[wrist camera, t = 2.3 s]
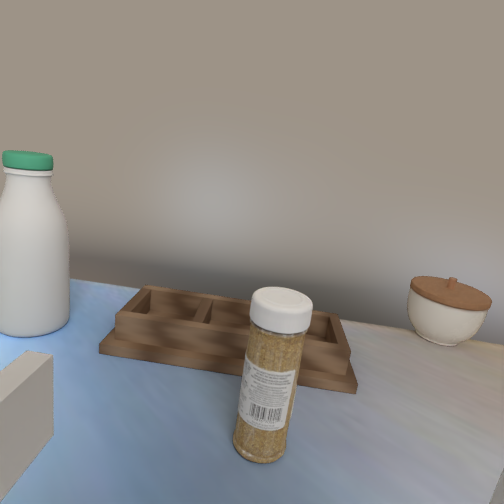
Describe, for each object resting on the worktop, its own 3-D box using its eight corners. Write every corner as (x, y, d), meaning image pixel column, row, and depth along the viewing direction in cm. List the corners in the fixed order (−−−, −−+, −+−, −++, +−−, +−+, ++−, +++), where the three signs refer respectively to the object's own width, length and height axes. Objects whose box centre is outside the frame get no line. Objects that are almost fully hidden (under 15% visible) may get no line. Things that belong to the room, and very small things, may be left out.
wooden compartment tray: (337, 338, 51) (343, 311, 49) (355, 394, 39) (364, 359, 38) (139, 308, 51) (140, 280, 50) (99, 353, 40) (100, 318, 39)
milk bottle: (83, 320, 46) (85, 158, 41) (25, 347, 39) (17, 156, 34) (40, 303, 49) (36, 149, 43) (-21, 325, 42) (-35, 145, 37)
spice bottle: (292, 436, 32) (320, 294, 28) (274, 476, 28) (305, 315, 24) (244, 416, 34) (265, 280, 30) (221, 451, 29) (242, 297, 26)
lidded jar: (492, 351, 53) (513, 291, 51) (440, 359, 49) (460, 294, 46) (432, 317, 63) (447, 265, 60) (384, 321, 58) (398, 266, 56)
